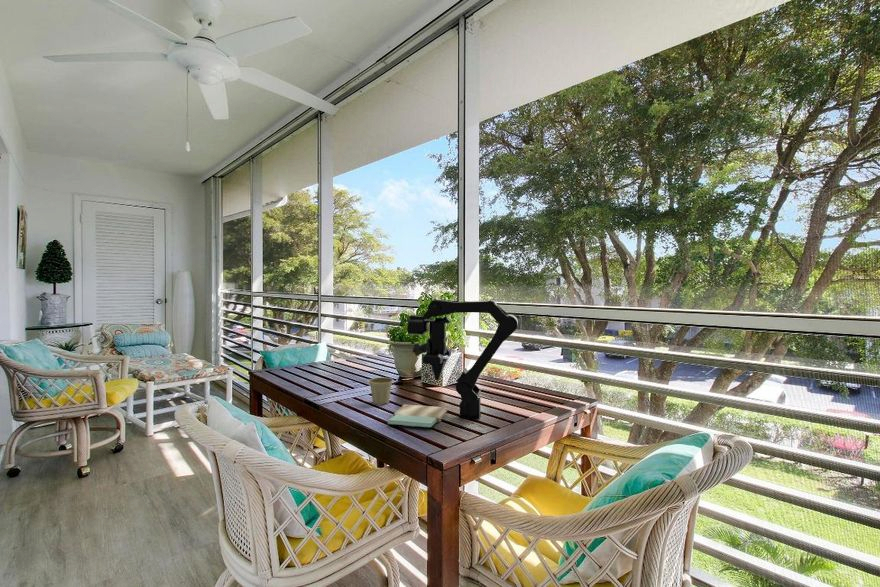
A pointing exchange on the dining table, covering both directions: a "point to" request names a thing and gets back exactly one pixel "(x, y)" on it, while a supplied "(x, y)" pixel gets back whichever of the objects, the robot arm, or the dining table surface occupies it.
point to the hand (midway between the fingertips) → (437, 379)
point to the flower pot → (380, 390)
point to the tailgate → (412, 421)
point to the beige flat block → (422, 411)
